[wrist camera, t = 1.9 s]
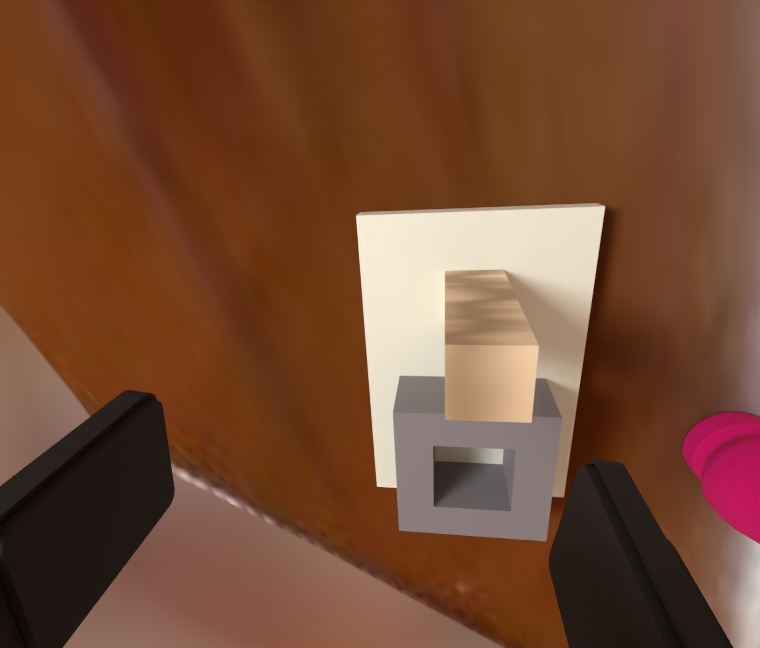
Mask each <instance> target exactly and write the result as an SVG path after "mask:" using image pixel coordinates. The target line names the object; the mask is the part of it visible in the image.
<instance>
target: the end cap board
mask: <svg viewBox="0 0 760 648" xmlns="http://www.w3.org/2000/svg"><path fill="white" fill-rule="evenodd" d="M604 211H605V206H603V205H601V204H598V203H588V204H562V205H536V206H511V207H485V208H459V209H434V210H408V211H382V212H360V213H359V214H358V215H356V219H357V232H358V245H359V258H360V271H361V284H362V297H363V310H364V323H365V336H366V349H367V362H368V375H369V388H370V400H371V413H372V426H373V439H374V452H375V465H376V478H377V487H393V488H397V499H398V517H399V531H413V532H427V533H440V534H454V535H468V536H482V537H496V538H509V539H523V540H537V541H546V540H547V532H548V524H549V516H550V509H551V501H552V497H564V492H565V485H566V478H567V471H568V464H569V457H570V450H571V443H572V436H573V429H574V422H575V415H576V408H577V401H578V394H579V387H580V380H581V373H582V366H583V359H584V352H585V345H586V338H587V330H588V323H589V316H590V309H591V302H592V295H593V288H594V281H595V274H596V267H597V260H598V253H599V246H600V239H601V232H602V225H603V218H604ZM451 270H504V272H505V274H506V276H507V278H508V280H509V282H510V285H511V287H512V289H513V291H514V293H515V295H516V297H517V300H518V302H519V304H520V306H521V308H522V310H523V313H524V315H525V317H526V319H527V321H528V323H529V325H530V328H531V330H532V332H533V334H534V336H535V338H536V340H537V343H538V345H539V350H538V360H537V371H536V381H535V392H534V402H533V413H532V423H522V422H492V421H462V420H445V271H451Z"/></svg>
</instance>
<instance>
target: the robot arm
mask: <svg viewBox="0 0 760 648" xmlns="http://www.w3.org/2000/svg"><path fill="white" fill-rule="evenodd" d="M174 491H175V490H174V482H173V475H172V468H171V461H170V454H169V447H168V440H167V433H166V426H165V419H164V412H163V406H162V403H161V402H160V401H157V398H156V397H155V395H154V394H151V393H145V392H139V391H132V390H127V391H124V392H122V393H121V394H119V395H118V396H117V397H116V398H114V399H113V400H112V401H110V402H109V403H108V404H106V405H105V406H104V407H103V408H101V409H100V410H99V411H97V412H96V413H95V414H93V415H92V416H91V417H90V418H88V419H87V420H86V421H84V422H83V423H82V424H81V425H79V426H78V427H77V428H75V429H74V430H73V431H71V432H70V433H69V434H68V435H66V436H65V437H64V438H62V439H61V440H60V441H59V442H57V443H56V444H55V445H53V446H52V447H51V448H50V449H48V450H47V451H46V452H44V453H43V454H42V455H40V456H39V457H38V458H36V459H35V460H34V461H32V463H30V464H29V465H27V466H26V467H25V468H23V469H22V470H21V471H19V472H18V473H17V474H16V475H14V476H13V477H12V478H10V479H9V480H8V481H6V482H5V483H4V484H3V485H1V486H0V648H63V646H64V645H65V644H66V642H67V641H68V640H69V639H70V637H71V636H72V635H73V633H74V632H75V630H76V629H77V628H78V627H79V625H80V624H81V623H82V621H83V620H84V619H85V617H86V616H87V615H88V613H89V612H90V611H91V609H92V608H93V607H94V605H95V604H96V603H97V602H98V600H99V599H100V597H101V596H102V595H103V594H104V592H105V591H106V590H107V588H108V587H109V586H110V584H111V583H112V582H113V580H114V579H115V578H116V576H117V575H118V574H119V572H120V571H121V570H122V568H123V567H124V566H125V565H126V563H127V562H128V560H129V559H130V558H131V557H132V555H133V554H134V552H135V551H136V550H137V549H138V547H139V546H140V545H141V543H142V542H143V541H144V539H145V538H146V537H147V535H148V534H149V533H150V531H151V530H152V529H153V527H154V526H155V525H156V523H157V522H158V521H159V519H160V518H161V517H162V516H163V514H164V513H165V512H166V510H167V509H168V508H169V506H170V504H171V502H172V500H173V497H174ZM549 569H550V574H551V578H552V582H553V586H554V590H555V594H556V598H557V602H558V606H559V609H560V613H561V617H562V621H563V625H564V629H565V633H566V637H567V641H568V645H569V648H733V646H732V645H731V643H730V641H729V639H728V638H727V636H726V634H725V633H724V631H723V629H722V627H721V626H720V624H719V622H718V621H717V619H716V617H715V615H714V614H713V612H712V610H711V609H710V607H709V605H708V603H707V602H706V600H705V598H704V596H703V595H702V593H701V591H700V590H699V588H698V586H697V584H696V583H695V581H694V579H693V578H692V576H691V574H690V572H689V571H688V569H687V567H686V566H685V564H684V562H683V560H682V559H681V557H680V555H679V554H678V552H677V550H676V549H675V547H674V546H673V545H672V543H671V542H670V541H669V540H668V539H666V537H665V535H664V534H663V532H662V530H661V529H660V527H659V525H658V523H657V522H656V520H655V518H654V516H653V515H652V513H651V511H650V509H649V508H648V506H647V504H646V502H645V501H644V499H643V497H642V495H641V494H640V492H639V490H638V488H637V487H636V485H635V483H634V481H633V480H632V478H631V476H630V475H629V473H628V471H627V469H626V468H625V466H624V465H623V464H622V463H620V462H614V461H607V460H600V459H590V460H589V461H588V463H587V465H586V464H581V465H580V466H579V468H578V470H577V473H576V476H575V479H574V482H573V485H572V488H571V491H570V494H569V497H568V500H567V503H566V506H565V509H564V512H563V515H562V518H561V521H560V524H559V527H558V530H557V533H556V536H555V539H554V542H553V545H552V548H551V551H550V555H549Z"/></svg>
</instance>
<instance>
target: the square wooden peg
mask: <svg viewBox="0 0 760 648" xmlns="http://www.w3.org/2000/svg"><path fill="white" fill-rule="evenodd" d="M538 350H539V345H538V343H537V340H536V338H535V336H534V334H533V332H532V330H531V328H530V325H529V323H528V321H527V319H526V317H525V315H524V313H523V310H522V308H521V306H520V304H519V302H518V300H517V297H516V295H515V293H514V291H513V289H512V287H511V285H510V282H509V280H508V278H507V276H506V274H505V272H504V270H451V271H445V420H462V421H492V422H522V423H532V413H533V402H534V392H535V381H536V371H537V360H538Z"/></svg>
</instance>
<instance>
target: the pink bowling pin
mask: <svg viewBox="0 0 760 648" xmlns="http://www.w3.org/2000/svg"><path fill="white" fill-rule="evenodd" d="M682 452H683V457H684V459H685V461H686V463H687V464H688V465H689V466H690V468H691V469H692V470H693V472H694V473H695V474H696V476H697V477H698V478H699V479H700V480H701V488H702V492H703V495H704V497H705V499H706V500H707V502H708V503H709V505H710V506H711V507H712V508H713V509H714V510H715V511H716V513H717V514H718V515H719V516H720V517H721V518H722V519H723V520H724V521H726V522H727V523H728V524H729V525H731V526H732V527H733V528H734V529H736V530H737V531H739V532H741V533H742V534H744V535H746V536H747V537H749V538H751V539H752V540H754V541H756V542H757V543H759V544H760V418H759V417H757V416H754V415H752V414H748V413H743V412H725V413H721V414H716V415H713V416H711V417H708V418H706V419H704V420H702V421H701V422H699V423H698V424H697V425H695V426H694V427H693V428H692V429H691V430H690V431H689V432H688V434H687V436H686V438H685V440H684V442H683V448H682Z"/></svg>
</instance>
